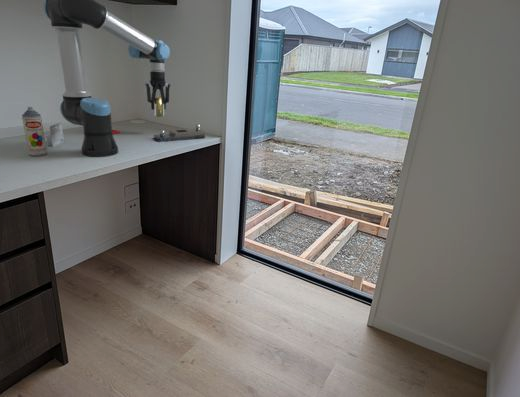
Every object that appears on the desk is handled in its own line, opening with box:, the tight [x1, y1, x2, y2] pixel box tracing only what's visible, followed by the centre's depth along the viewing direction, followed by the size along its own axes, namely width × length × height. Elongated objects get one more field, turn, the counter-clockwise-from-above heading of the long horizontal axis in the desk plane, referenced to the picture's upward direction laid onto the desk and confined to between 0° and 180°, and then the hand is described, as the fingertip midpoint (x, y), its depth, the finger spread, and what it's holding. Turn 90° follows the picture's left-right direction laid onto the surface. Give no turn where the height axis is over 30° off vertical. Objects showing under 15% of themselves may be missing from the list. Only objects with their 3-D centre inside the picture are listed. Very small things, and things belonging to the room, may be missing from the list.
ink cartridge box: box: [45, 122, 65, 148], centre depth 171 cm, size 2×11×10 cm, turn 1°
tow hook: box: [112, 129, 121, 136], centre depth 202 cm, size 8×13×9 cm
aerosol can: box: [21, 106, 48, 158], centre depth 152 cm, size 7×7×20 cm
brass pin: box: [154, 96, 164, 118], centre depth 200 cm, size 4×4×10 cm
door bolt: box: [153, 123, 206, 143], centre depth 199 cm, size 26×9×7 cm, turn 124°
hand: (158, 115), depth 201 cm, fingers closed on brass pin, 4 cm apart
